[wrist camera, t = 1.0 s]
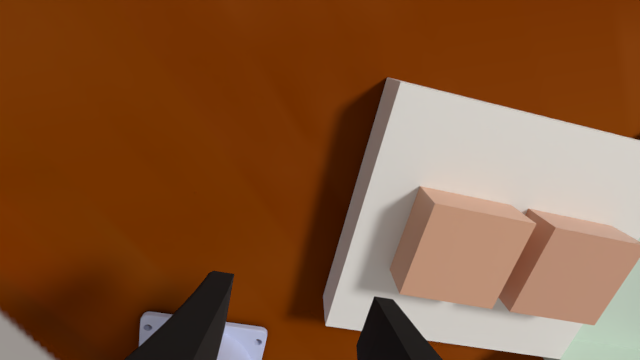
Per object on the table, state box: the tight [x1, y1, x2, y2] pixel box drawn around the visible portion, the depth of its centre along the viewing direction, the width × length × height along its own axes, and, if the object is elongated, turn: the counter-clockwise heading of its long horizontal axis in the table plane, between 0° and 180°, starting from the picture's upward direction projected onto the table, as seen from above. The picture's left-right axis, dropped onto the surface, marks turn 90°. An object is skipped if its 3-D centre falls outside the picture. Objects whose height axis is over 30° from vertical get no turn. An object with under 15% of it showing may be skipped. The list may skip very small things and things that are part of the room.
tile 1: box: [498, 208, 640, 325], centre depth 17 cm, size 5×5×2 cm
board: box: [323, 77, 640, 359], centre depth 19 cm, size 14×16×2 cm
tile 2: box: [390, 186, 536, 309], centre depth 17 cm, size 5×5×2 cm
